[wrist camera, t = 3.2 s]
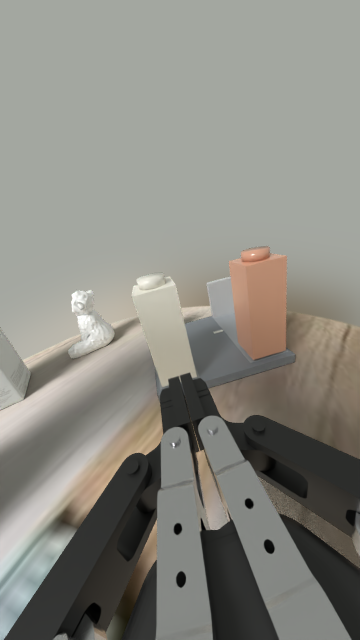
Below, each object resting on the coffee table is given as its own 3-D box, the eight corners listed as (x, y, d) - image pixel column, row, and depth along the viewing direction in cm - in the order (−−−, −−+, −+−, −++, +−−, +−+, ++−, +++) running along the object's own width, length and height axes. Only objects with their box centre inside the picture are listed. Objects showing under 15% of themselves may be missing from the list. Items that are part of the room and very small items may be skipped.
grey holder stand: (160, 402, 25) (140, 347, 21) (153, 337, 40) (141, 300, 37) (298, 360, 26) (301, 302, 23) (240, 313, 41) (236, 274, 38)
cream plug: (162, 387, 25) (128, 287, 19) (159, 365, 29) (130, 277, 24) (197, 376, 25) (173, 275, 20) (189, 356, 29) (167, 268, 24)
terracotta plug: (253, 360, 26) (245, 256, 20) (238, 342, 30) (227, 252, 24) (285, 350, 26) (286, 245, 21) (266, 334, 30) (262, 243, 25)
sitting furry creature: (87, 336, 48) (65, 288, 43) (122, 329, 48) (103, 280, 42) (69, 360, 40) (37, 304, 35) (110, 352, 39) (85, 294, 34)
